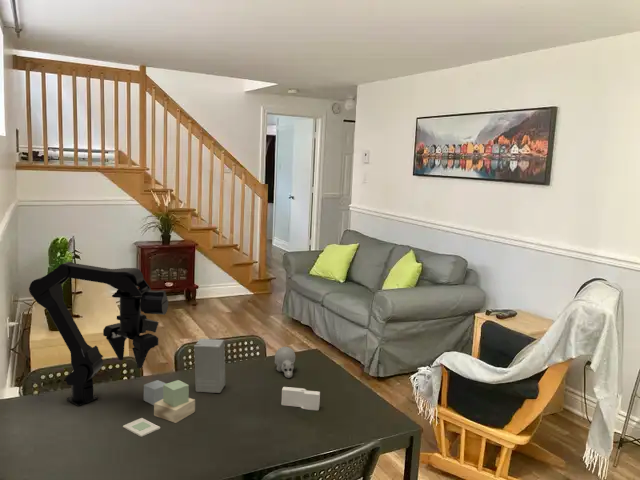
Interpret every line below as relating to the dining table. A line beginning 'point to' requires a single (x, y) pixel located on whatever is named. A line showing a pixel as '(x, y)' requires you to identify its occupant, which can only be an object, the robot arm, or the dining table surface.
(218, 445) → the dining table surface
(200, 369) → the skincare box
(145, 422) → the card
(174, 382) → the sage cube
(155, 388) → the blue-grey cube
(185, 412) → the birch block
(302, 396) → the white stepped block
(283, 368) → the round bodied animal figurine
